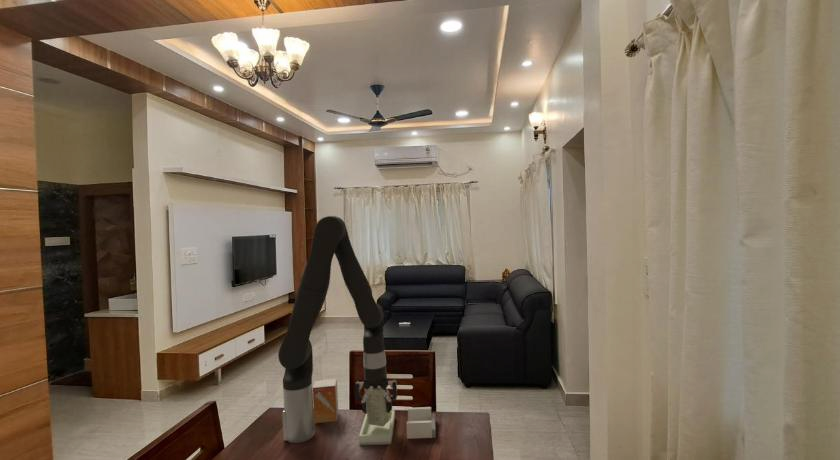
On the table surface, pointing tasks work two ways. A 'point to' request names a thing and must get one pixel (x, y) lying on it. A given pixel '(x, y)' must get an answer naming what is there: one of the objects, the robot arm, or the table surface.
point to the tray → (377, 432)
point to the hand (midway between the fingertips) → (377, 412)
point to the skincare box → (377, 408)
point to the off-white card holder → (420, 423)
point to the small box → (325, 401)
